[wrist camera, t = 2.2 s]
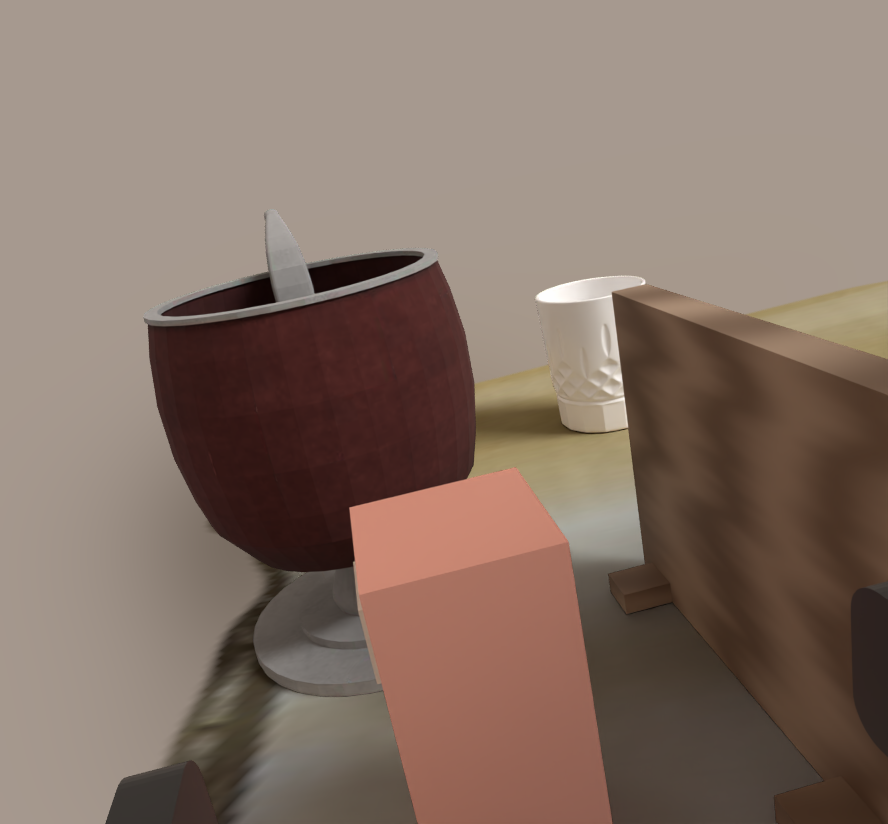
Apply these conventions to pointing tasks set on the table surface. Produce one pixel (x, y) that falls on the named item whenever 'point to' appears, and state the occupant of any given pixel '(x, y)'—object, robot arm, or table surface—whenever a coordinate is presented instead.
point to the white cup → (585, 351)
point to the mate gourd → (314, 426)
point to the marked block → (480, 653)
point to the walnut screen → (763, 518)
